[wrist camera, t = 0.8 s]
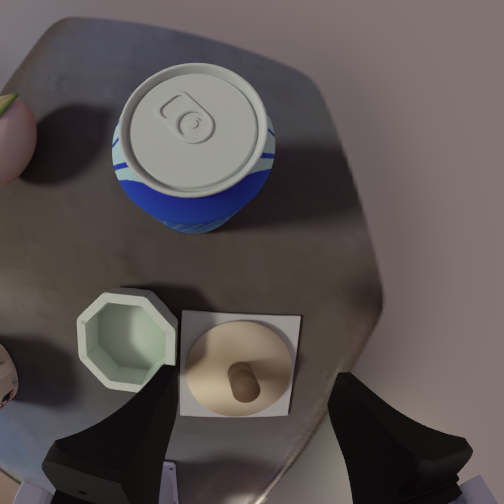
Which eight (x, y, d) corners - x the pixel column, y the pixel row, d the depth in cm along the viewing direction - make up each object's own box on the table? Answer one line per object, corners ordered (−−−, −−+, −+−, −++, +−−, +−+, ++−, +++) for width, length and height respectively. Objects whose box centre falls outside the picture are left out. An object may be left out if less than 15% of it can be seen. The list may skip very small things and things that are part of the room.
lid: (283, 411, 29) (296, 434, 24) (185, 411, 27) (184, 436, 22) (294, 321, 29) (312, 334, 24) (187, 316, 27) (185, 330, 22)
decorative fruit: (21, 212, 24) (-37, 200, 14) (-15, 174, 23) (-67, 155, 13) (69, 137, 25) (26, 97, 15) (30, 106, 24) (-12, 67, 14)
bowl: (176, 377, 27) (174, 396, 23) (94, 367, 26) (81, 383, 22) (179, 292, 27) (176, 299, 23) (91, 283, 26) (76, 289, 22)
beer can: (235, 145, 28) (277, 49, 12) (242, 231, 28) (298, 212, 13) (149, 152, 27) (106, 59, 11) (153, 238, 27) (98, 229, 11)
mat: (286, 413, 30) (287, 415, 29) (180, 413, 27) (180, 415, 27) (299, 315, 29) (300, 316, 29) (182, 309, 27) (182, 310, 27)
